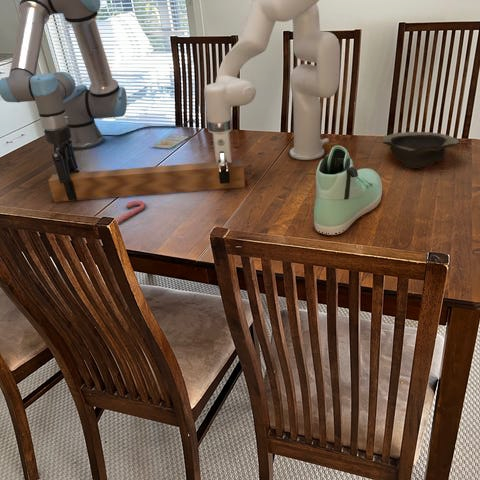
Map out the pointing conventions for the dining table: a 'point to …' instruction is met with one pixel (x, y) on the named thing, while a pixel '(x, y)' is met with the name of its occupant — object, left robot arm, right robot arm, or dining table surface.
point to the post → (148, 181)
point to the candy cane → (132, 210)
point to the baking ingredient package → (170, 141)
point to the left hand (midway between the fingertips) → (75, 195)
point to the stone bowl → (419, 147)
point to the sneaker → (343, 192)
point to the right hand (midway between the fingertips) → (224, 177)
